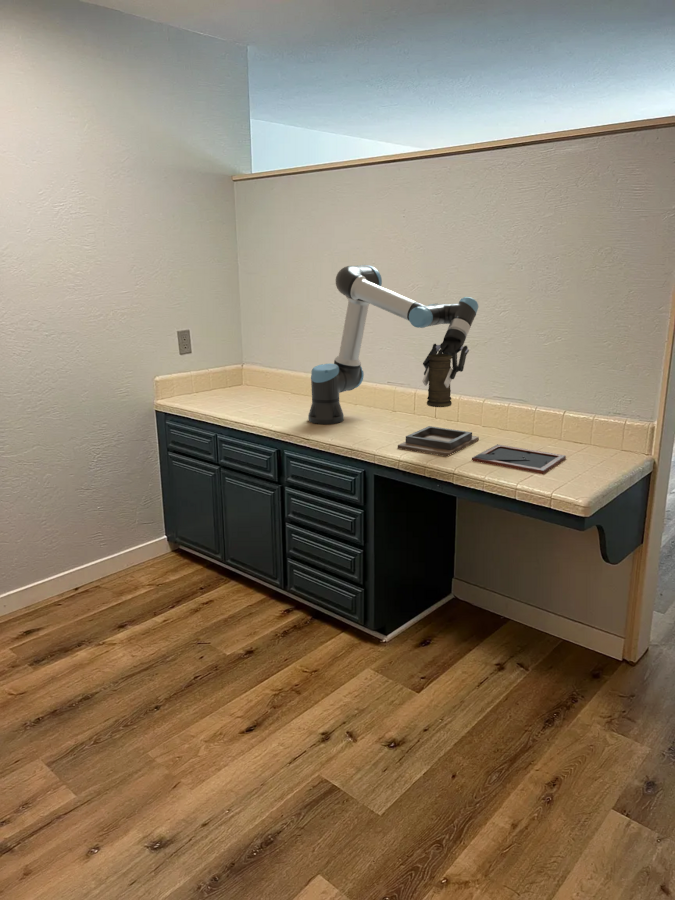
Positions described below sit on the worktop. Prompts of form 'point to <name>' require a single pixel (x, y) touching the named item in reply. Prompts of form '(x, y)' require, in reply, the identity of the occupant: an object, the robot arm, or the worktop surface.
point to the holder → (438, 440)
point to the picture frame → (519, 458)
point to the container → (439, 380)
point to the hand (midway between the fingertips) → (435, 384)
